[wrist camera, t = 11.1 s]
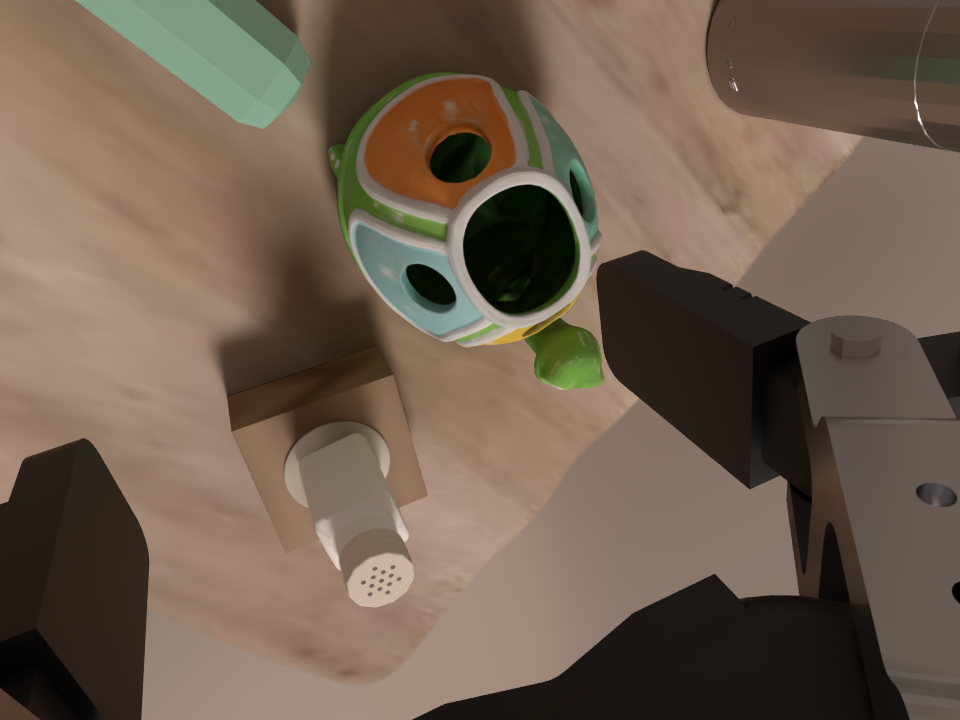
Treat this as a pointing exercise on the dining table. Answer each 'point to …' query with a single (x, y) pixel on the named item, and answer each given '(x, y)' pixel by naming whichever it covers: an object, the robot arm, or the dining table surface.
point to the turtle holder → (473, 218)
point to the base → (322, 434)
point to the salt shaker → (358, 520)
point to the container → (217, 50)
